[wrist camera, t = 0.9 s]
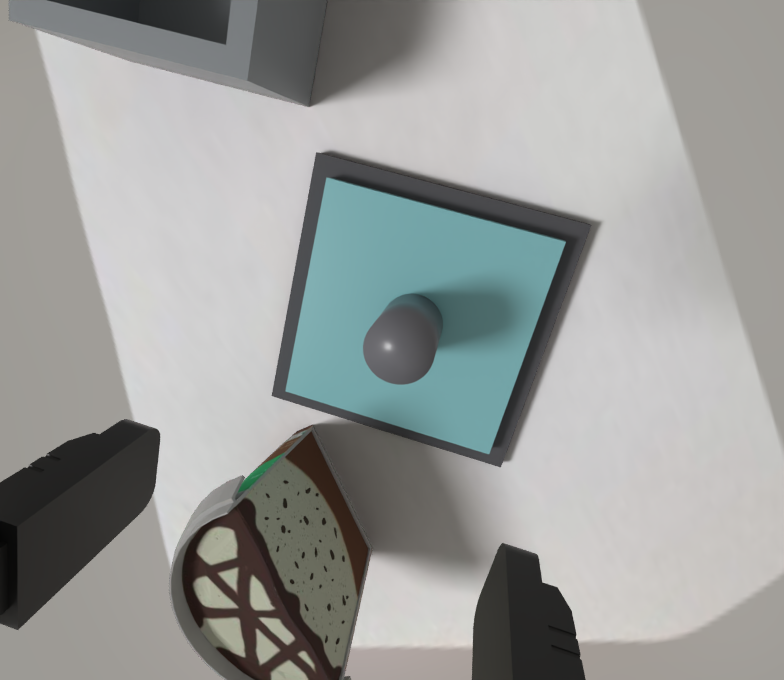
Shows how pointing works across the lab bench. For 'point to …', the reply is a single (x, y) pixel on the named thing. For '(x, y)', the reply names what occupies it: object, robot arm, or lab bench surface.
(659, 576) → the lab bench surface
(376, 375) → the lid
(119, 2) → the tub
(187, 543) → the food container
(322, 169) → the mat
